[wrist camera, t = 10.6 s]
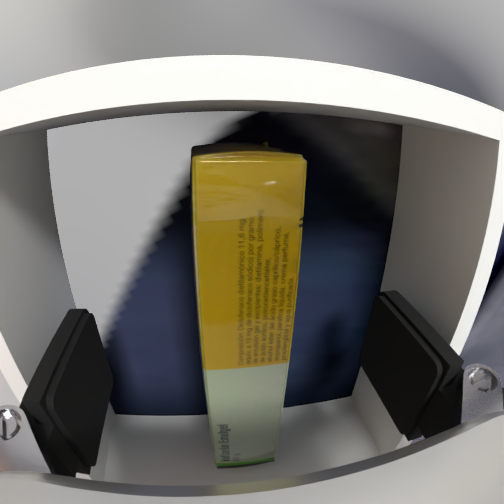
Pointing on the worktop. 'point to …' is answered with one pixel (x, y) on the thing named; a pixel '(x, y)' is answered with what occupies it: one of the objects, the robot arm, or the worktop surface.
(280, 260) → the medication box
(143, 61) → the housing
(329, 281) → the worktop surface
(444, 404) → the robot arm
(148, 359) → the worktop surface
